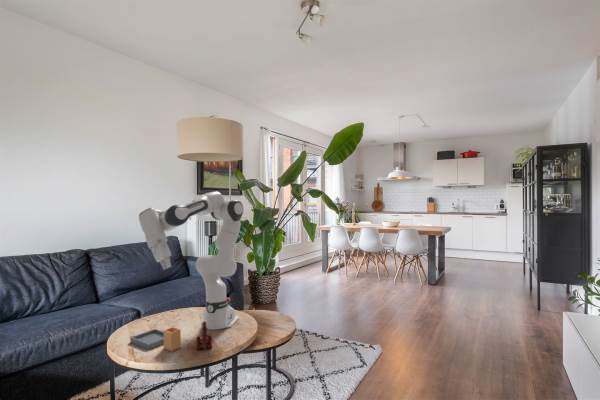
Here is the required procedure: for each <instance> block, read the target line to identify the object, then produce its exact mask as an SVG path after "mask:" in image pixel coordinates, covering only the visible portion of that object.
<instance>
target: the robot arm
mask: <svg viewBox="0 0 600 400" xmlns="http://www.w3.org/2000/svg"><path fill="white" fill-rule="evenodd" d="M209 214H210V216H211V217H212V218H213V219H215V220H219V221H221V220H222V222H223V223H222V226H221V228H220V230H219V231H218V232H219V233H218V234H217V237H216V239H215V242H214V246H215V248H216V249H217V254H216V255H213V254H205V255H200V256H199V257H197V259H196V261H195V268H196V270H197V272H198V273H199V274H200V275H201V278H202V280H203V282H204V287H205V301H204V303H205V304H204V305H205V307H204V310H203V321H201V325H203V322H206V327H207V330H213V331H215V330H222V329H226V328H232V327H233V326H234V325H235V324H236V323H237V322H238V320H239V319H240V316H238V315H236V314H235V313H236V312H235V309H234V308H233V307H232V306H231V305H230V304H229V302H231V297H227V286H226V283H225V282H224V281H223V280H222V278H223V277H232V276H233V275H235V273H236V271H237V268H238V267H237V266H238V265H237V261H236V259H235V258H234V249H235V246H236V243H237V240H238V238H239V235H240V231H241V225H242V223H241V221H240V220H241V219H242V216H243V214H244V205H243V203H242V202H241V200H237V199H231V200H229V199H227V200H225V198H224V195H223V194H222V193H220V192H219V191H210V192H207V193H204V194H202V195H199V196H196V197H195V198H194V199H192V201H191V202H190V203H187V204H174V205H171V206H170V207H169V208H168V209H166V210H159V209H156V208H154V207H148V208H147V209H144V210H143V211H141V212H140V213H139V214H138V221H139V224H140V227H141V230H142V231H143V234H144V238H145V241H146V243H147V247H148V249H149V250H151V253H152V256H153V258H154V260H155V261H156V262H157V263H160V265H161V267H162V269H163V271H164V270H168V269H169V268H171V267H172V264H171V258H170V257H172V252H171V249H170V247H169V244H168V243H167V242H169V241H168V238H167V235H166V232H170V231H172V230H174V229H176V228H178V227H180V226H183V225H184V224H185V223H187V221H188V219H189V218H190V217H193V216H194V215H197V216H199V217H202V216H206V215H209ZM221 277H222V278H221Z"/></svg>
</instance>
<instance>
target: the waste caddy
mask: <svg viewBox="0 0 600 400" xmlns="http://www.w3.org/2000/svg"><path fill="white" fill-rule="evenodd" d="M162 331H163V332H164V344H163V350H164V351H167V352H169V351H170V352H169V353H173V352H176V351H177V350H180V349H182V348H181V346H182V344H181V337H182V336H181V332H182V331H181V329H180V328H177V327H174V326H171V327H169V328H165V329H164V330H162ZM175 350H176V351H175Z"/></svg>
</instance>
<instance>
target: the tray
mask: <svg viewBox="0 0 600 400" xmlns="http://www.w3.org/2000/svg"><path fill="white" fill-rule="evenodd" d="M130 344H134V345H136V346H138V347H141V348H143V349H145V350H148V351H149V350H153V349H154V348H157V347H159V346H162V345H164V331H163V330H160V329H157V328H154V329H150V330H148V331H145V332H142V333H139V334H136V335H133V336H131V337H130Z"/></svg>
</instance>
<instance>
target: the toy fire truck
mask: <svg viewBox="0 0 600 400" xmlns="http://www.w3.org/2000/svg"><path fill="white" fill-rule="evenodd" d="M201 325H202V328H201V329H202V331H201V336H200V335H198V336H196V350H197V351H199V350H201V349H204V350H206V349H207V347H208V349H212V348H213V346H212V344H213V343H212V342H213V341H212V340H213V339H212V335H211V334H208V333H207V332H208V331H207V330H208V329H207V327H206V322H203V324H201Z"/></svg>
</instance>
